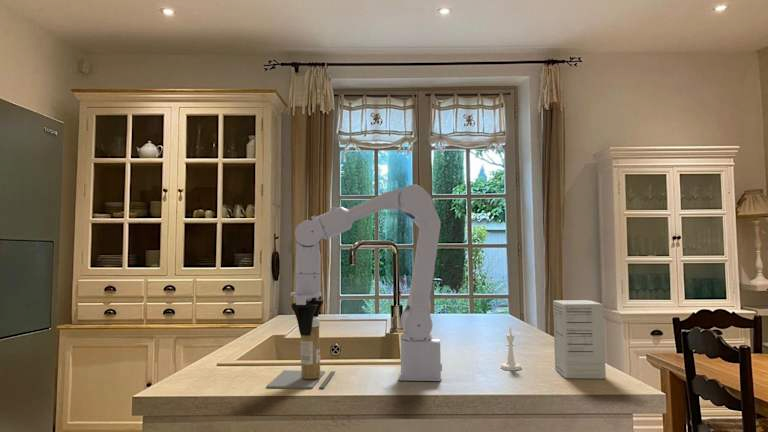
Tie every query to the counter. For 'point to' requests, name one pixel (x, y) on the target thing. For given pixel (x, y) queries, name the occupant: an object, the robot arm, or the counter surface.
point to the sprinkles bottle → (311, 352)
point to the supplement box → (579, 339)
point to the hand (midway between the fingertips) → (307, 333)
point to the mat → (293, 380)
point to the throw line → (327, 380)
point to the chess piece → (510, 355)
